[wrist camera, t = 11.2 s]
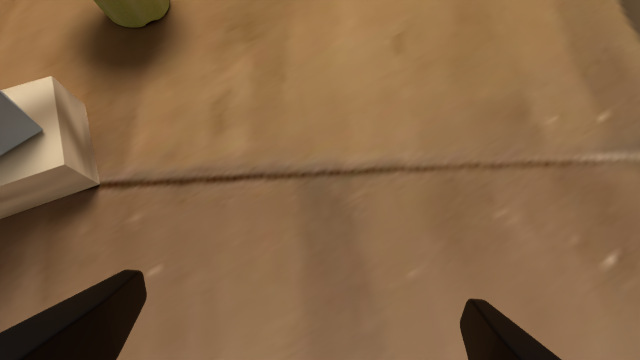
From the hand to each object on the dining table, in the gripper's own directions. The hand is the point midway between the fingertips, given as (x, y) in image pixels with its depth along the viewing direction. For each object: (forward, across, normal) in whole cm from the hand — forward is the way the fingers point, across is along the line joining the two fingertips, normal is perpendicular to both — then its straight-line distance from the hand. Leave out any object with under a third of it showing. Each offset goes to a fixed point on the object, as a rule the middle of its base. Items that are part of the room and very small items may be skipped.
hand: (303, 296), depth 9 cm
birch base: (+16, +22, +4) cm, 28 cm away
